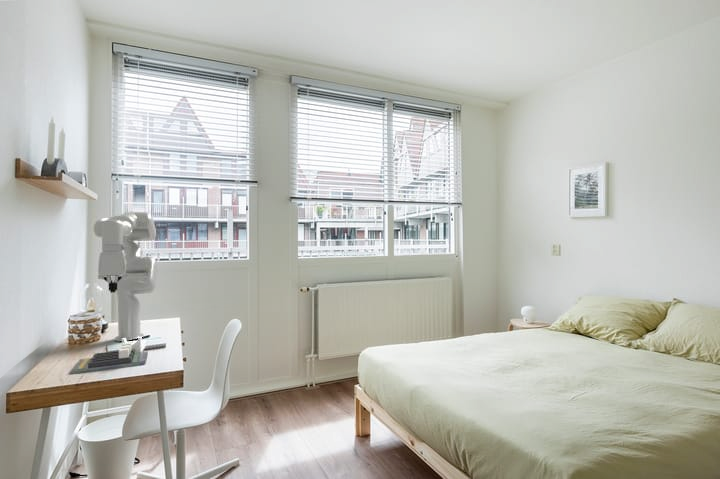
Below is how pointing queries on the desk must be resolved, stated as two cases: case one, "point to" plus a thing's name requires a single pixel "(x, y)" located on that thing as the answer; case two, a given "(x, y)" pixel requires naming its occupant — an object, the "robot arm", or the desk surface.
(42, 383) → the desk surface
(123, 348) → the handle
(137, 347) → the bracket
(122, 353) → the breaker handle
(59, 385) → the desk surface
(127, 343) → the block
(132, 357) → the breaker panel
